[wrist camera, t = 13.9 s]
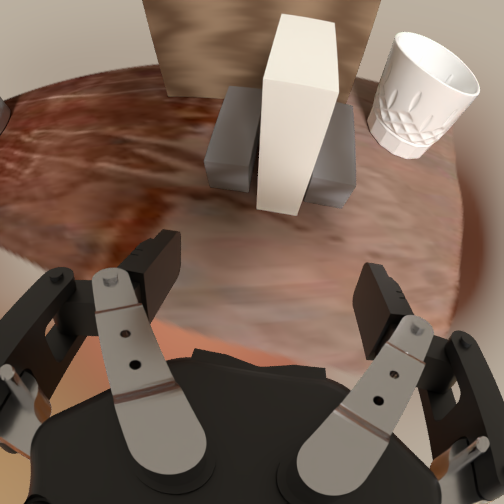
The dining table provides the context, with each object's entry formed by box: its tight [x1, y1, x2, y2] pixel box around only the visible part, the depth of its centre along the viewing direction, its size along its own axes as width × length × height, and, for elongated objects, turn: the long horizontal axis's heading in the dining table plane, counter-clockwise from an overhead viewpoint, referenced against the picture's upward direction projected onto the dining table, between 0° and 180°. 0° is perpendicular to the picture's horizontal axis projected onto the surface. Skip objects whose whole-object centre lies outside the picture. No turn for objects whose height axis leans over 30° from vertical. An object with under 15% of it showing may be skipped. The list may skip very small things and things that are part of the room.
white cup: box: [367, 32, 480, 159], centre depth 19 cm, size 8×8×10 cm
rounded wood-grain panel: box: [142, 0, 381, 209], centre depth 16 cm, size 17×12×16 cm
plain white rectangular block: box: [256, 14, 339, 216], centre depth 16 cm, size 3×7×12 cm, turn 170°
